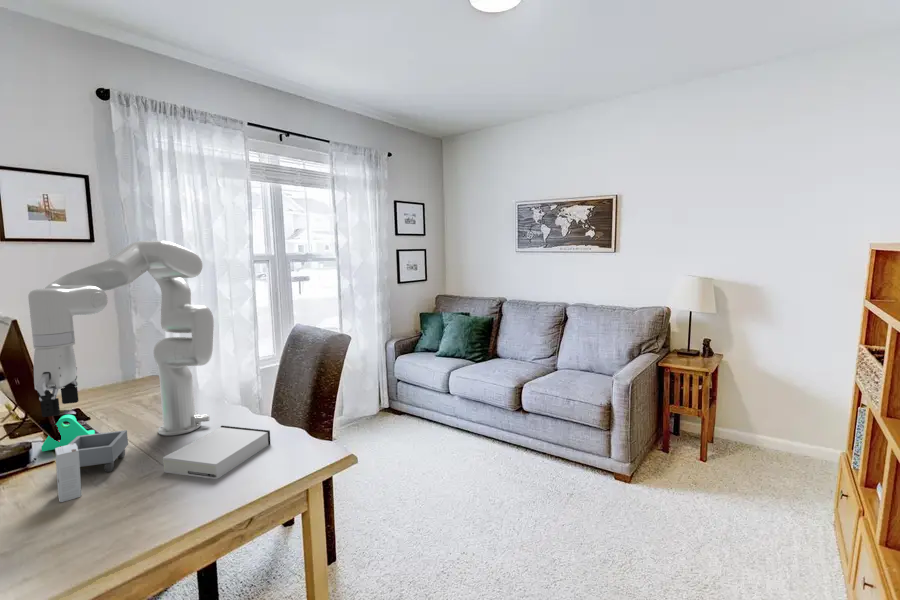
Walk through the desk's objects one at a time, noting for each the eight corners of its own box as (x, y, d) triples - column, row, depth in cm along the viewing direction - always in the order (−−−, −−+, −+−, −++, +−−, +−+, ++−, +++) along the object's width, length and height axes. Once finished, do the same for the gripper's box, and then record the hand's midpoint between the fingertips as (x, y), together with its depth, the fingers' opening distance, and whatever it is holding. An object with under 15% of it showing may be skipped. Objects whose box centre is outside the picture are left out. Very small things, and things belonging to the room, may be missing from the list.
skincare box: (57, 494, 112) (52, 447, 111) (80, 487, 116) (76, 442, 114) (59, 503, 108) (54, 455, 107) (83, 496, 111) (78, 449, 110)
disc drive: (270, 445, 141) (270, 430, 140) (217, 481, 119) (216, 463, 119) (223, 440, 145) (222, 425, 145) (163, 473, 123) (162, 456, 123)
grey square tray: (129, 454, 134) (126, 430, 134) (114, 472, 123) (111, 446, 122) (80, 460, 130) (77, 435, 130) (60, 480, 119) (57, 453, 118)
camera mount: (95, 437, 148) (92, 406, 147) (92, 445, 141) (89, 413, 140) (47, 445, 141) (44, 414, 140) (42, 455, 135) (38, 422, 134)
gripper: (52, 335, 115) (59, 400, 116) (13, 348, 98) (21, 423, 100) (88, 333, 117) (94, 396, 119) (55, 345, 101) (63, 419, 103)
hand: (61, 409), depth 109 cm, fingers open, 9 cm apart
